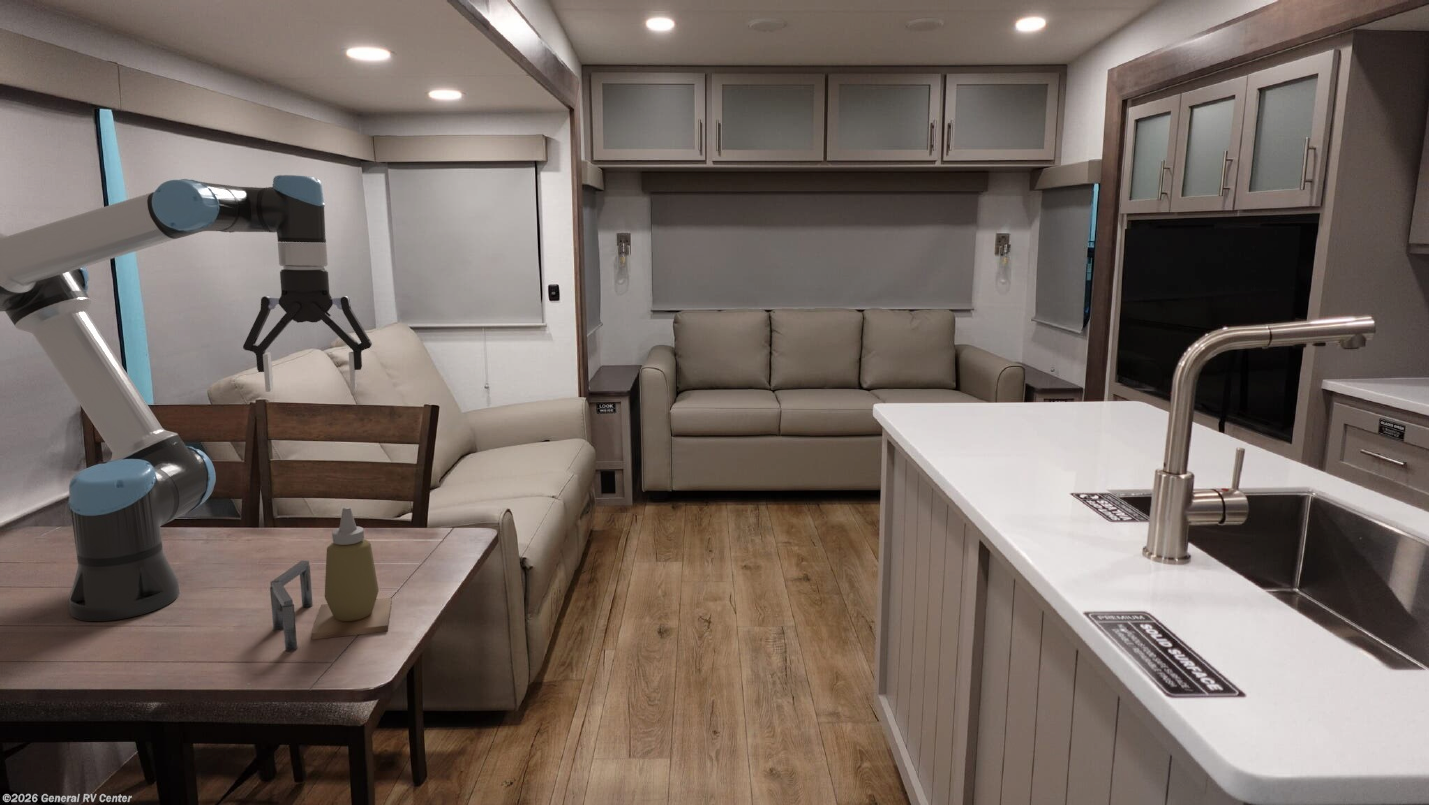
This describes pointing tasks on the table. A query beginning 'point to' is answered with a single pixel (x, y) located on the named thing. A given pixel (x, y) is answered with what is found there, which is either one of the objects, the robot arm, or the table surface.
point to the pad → (352, 622)
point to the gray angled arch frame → (289, 601)
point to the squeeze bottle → (350, 572)
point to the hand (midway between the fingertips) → (312, 389)
